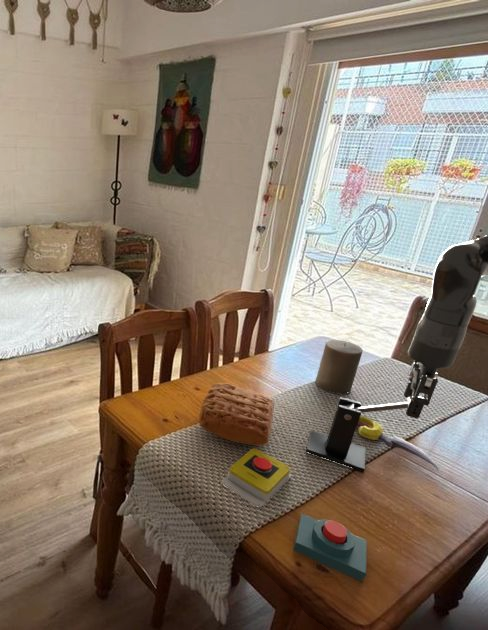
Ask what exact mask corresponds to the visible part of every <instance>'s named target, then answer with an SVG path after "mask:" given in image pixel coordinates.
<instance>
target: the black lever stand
mask: <svg viewBox="0 0 488 630" xmlns="http://www.w3.org/2000/svg"><path fill="white" fill-rule="evenodd" d="M347 404H354V406H355V407H363V403H362V402H361V401H356V400H353V399H350V398H347V397H342V396H340V397H339V400H338V403H337V407H336V410H335V411H336V413H335V412H334V416H333V419H332V422H331V426H330V428H329V431H328V434H326V433H321V432H319V431H316V430H312V429H311V430H310V432H309V436H308V440H309V441H307V445H306V450H305V453H306V452H309V453H311V454H314V455H317V456H319V457H323V458H326V459H329V460H331V461H335V462H337V463H340V464H344V465H346V466H349V467H352V468H353V469H352V471H356V472H359V473H361V474H364V473H365V469H366V447H364V446H361V445H358V444H356V443H352V442H353V440H354V436H355V433H356V430H357V428H358V427H357V424H358V422H359V419H360V416H361V415H362V413H361V411H359V410H356V409H352V408H349V407H345V406H342V405H347ZM319 457H318V458H319Z"/></svg>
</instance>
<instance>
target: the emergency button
mask: <svg viewBox="0 0 488 630" xmlns="http://www.w3.org/2000/svg"><path fill="white" fill-rule="evenodd" d="M291 478H292V473H291V468H290V466H288V465H287V464H286V463H283V462H281V461H280V460H278V459H276V458H274V457H273V456H270V455H269V454H266V453H265V452H263V451H262V450H260V449H258V448H255V447H254V448H251V449H250V450H249V451H248V452H247V453H245V454H244V455H243V456H242V457H240V458H239V459H237V461H235V462H234V463H233V464H232V465H231V466H230V467H229V469H228V473H227V475H226V476H225V477H224V478H222V480H221V484H222V483H223V484H224V485H225V486H226V487H228V488H229V489H231V490H232V491H234V492H235V493H236V494H238V495H240V496H242V497H243V498H245V499H246V500H247V501H249V502H250V503H252V504H253V505H255V506H258V507H262V506H263V507H265V505H266V504H267V503H268V502H269V501H270V500H271V499H272V498H273V497H274V496H275V495H276V494H277V493H278V492H279V491H280V490H281V489H282V488H283V487H284V486H285V485H286V484H287V483H288V482H289V481H290V480H289V479H291ZM288 480H289V481H288ZM287 481H288V482H287ZM286 482H287V483H286ZM285 483H286V484H285ZM284 484H285V485H284ZM283 485H284V486H283ZM282 486H283V487H282ZM281 487H282V488H281ZM280 488H281V489H280ZM279 489H280V490H279ZM278 490H279V491H278ZM277 491H278V492H277ZM276 492H277V493H276ZM275 493H276V494H275ZM236 494H235V495H236ZM274 494H275V495H274ZM238 495H237V496H238ZM273 495H274V496H273ZM272 496H273V497H272ZM271 497H272V498H271ZM270 498H271V499H270ZM269 499H270V500H269ZM268 500H269V501H268ZM247 501H246V502H247ZM267 501H268V502H267ZM266 502H267V503H266ZM250 503H249V504H250ZM265 503H266V504H265ZM253 505H252V506H253ZM255 506H254V507H255ZM263 507H262V508H263Z"/></svg>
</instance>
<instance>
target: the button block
mask: <svg viewBox="0 0 488 630" xmlns="http://www.w3.org/2000/svg"><path fill="white" fill-rule="evenodd" d="M327 521H332V520H331V519H319V520H318V519H316V518H314V517H311V516H309V515H308V514H307V515H306V514H304V513H301V514H300V517H299V520H298V525H297V530H296V535H295V539H294V545H293V550H292V551H294V552H296V553H298V554H300V555H302V556H304V557H306V558H309V559H311V560H313V561H314V562H317V563H320V564H322V565H324V566H326V567H328V568H331V569H333V570H335V571H337V572H339V573H341V574H344V575H346V576H348V577H350V578H352V579H354V580H357V581H358V582H362V583H363V582H364V581H365V580H364V579H365V578H366V575H367V555H368V553H367V551H368V541H367V539H364V538H362V537H359V536H358V535H357V536H356V535H355V534H353V533H351V531H350V530H349V529H348V528H346V527H345V529H346V530H347V537H346V539H345V542H344V543H342V544H336V543H333V542H331V541H329V540H328V539H327V538H326V537H325V536H324V535H323V528H324V525H325V523H326V522H327Z"/></svg>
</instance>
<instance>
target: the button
mask: <svg viewBox="0 0 488 630" xmlns="http://www.w3.org/2000/svg"><path fill="white" fill-rule="evenodd" d="M345 528H346V527H345V526H344V525H342V524H341V523H339V522H337V521H334V520H331V521H327V522H326V523H325V525H324V528H323V535H324V536H325V537H326V538H327V539H328V540H329V541H331V542H333V543H336V544H342V543H344V542H345V539H346V537H347V530H348V529H347V528H346V529H347V530H346V529H345Z"/></svg>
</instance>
